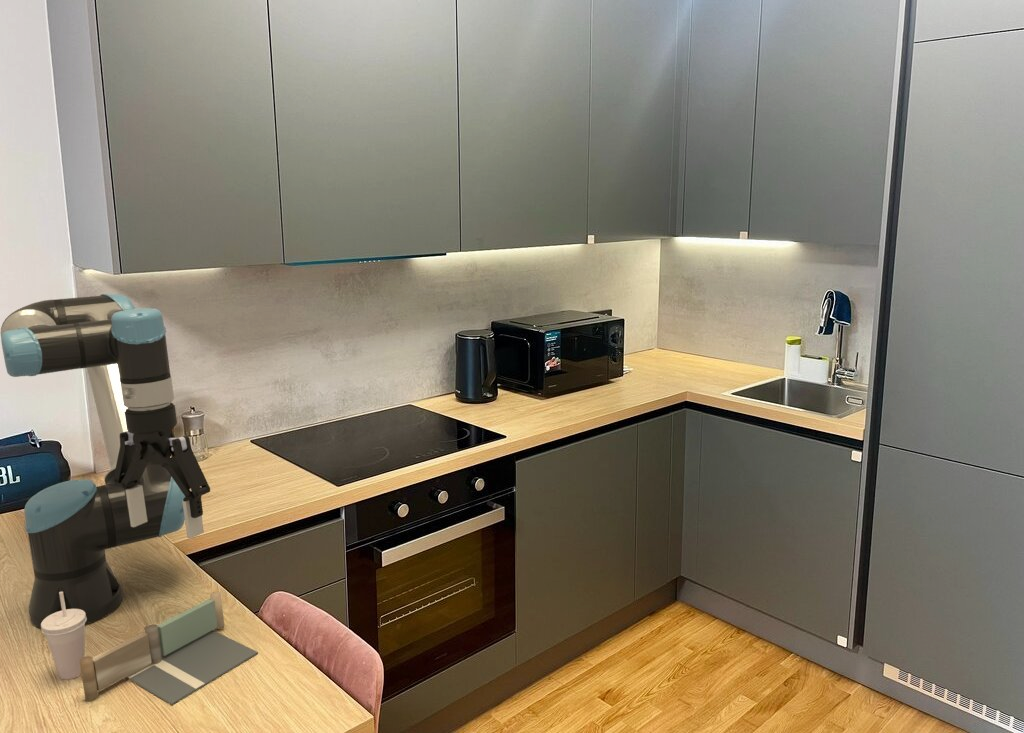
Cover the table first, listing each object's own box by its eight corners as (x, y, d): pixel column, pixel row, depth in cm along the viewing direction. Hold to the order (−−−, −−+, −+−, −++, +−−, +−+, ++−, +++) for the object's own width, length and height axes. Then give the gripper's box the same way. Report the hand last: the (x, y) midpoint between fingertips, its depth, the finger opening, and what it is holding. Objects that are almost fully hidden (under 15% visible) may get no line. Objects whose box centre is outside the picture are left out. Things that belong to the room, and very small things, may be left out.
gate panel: (165, 658, 135) (161, 625, 133) (159, 654, 136) (154, 621, 134) (226, 625, 144) (223, 593, 142) (220, 622, 145) (216, 590, 143)
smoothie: (101, 660, 135) (89, 583, 132) (83, 684, 129) (70, 604, 126) (61, 661, 135) (49, 584, 132) (41, 685, 129) (27, 605, 125)
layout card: (99, 662, 135) (99, 660, 134) (185, 618, 147) (185, 616, 147) (171, 705, 124) (171, 703, 123) (258, 653, 136) (257, 651, 136)
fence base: (82, 698, 125) (76, 660, 124) (157, 657, 135) (152, 622, 134) (89, 703, 124) (83, 664, 123) (164, 661, 134) (160, 626, 133)
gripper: (78, 405, 134) (97, 527, 138) (184, 416, 123) (202, 549, 127) (118, 395, 141) (135, 512, 145) (223, 405, 129) (238, 531, 133)
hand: (166, 529), depth 136 cm, fingers open, 13 cm apart
